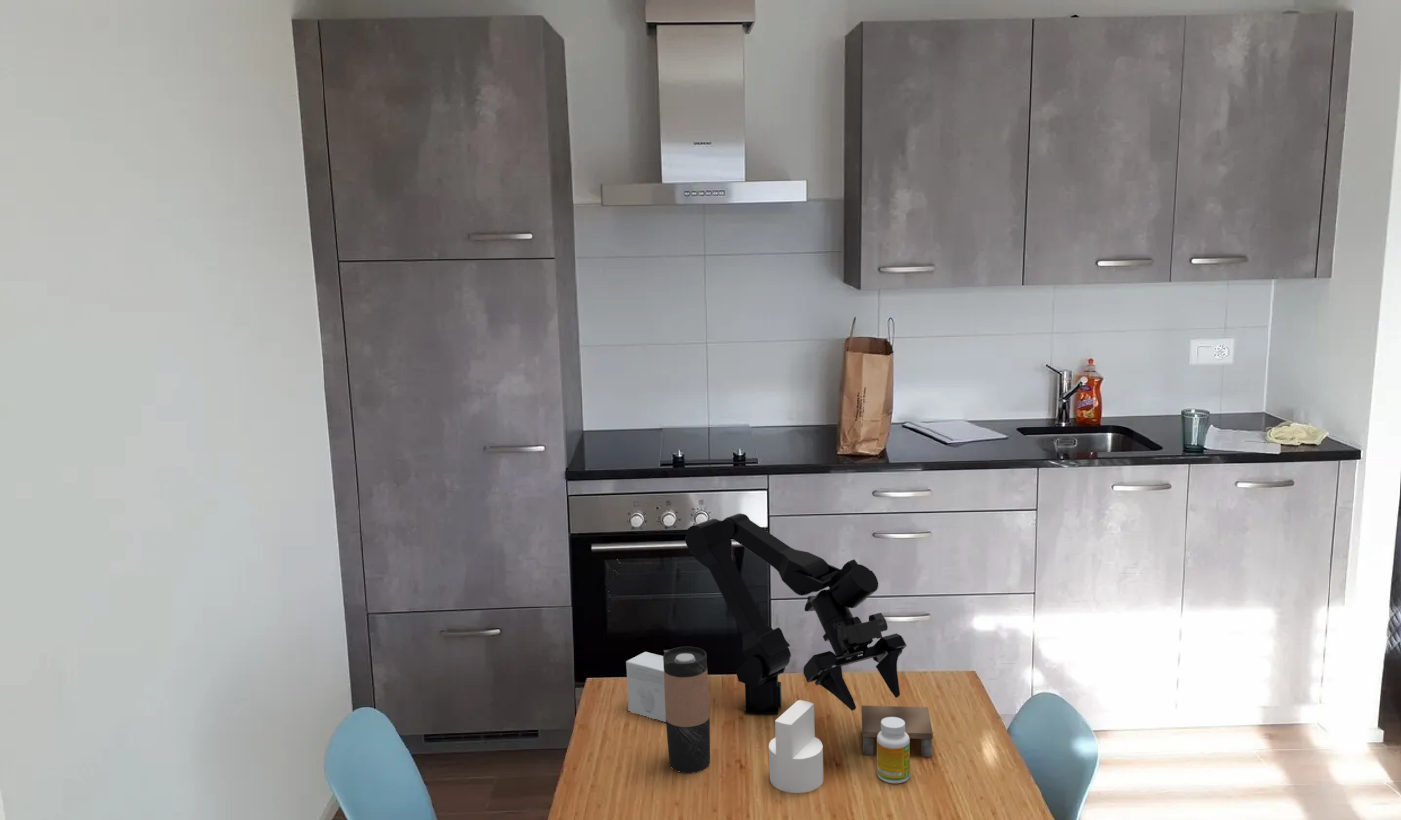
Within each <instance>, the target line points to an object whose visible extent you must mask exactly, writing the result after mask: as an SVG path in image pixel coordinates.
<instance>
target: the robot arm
mask: <svg viewBox="0 0 1401 820" xmlns="http://www.w3.org/2000/svg"><path fill="white" fill-rule="evenodd" d="M732 540H733V541H735V542H737V543H738V544H739V545H741V546H742V547H743V548H745V549H746V550H748V551H750V552H751V553H752V554H754V555H755V556H757V557H758V558H760V559H761V560H763V561H764V562H765V563H766V564H768V565H769V566H771V567H773V569H774V570H776V571H777V572H778V574H779V576H780V578H781V581H782V582H783V583H784V584H785V585H786V587H788V588H789V589H790V590H791V591H792V592H793V593H795V594H797V595H798V596H801V597H803V596H807V595H808V596H807V600H806V603H805V604H804V611H805V612H806V613H807V612H815V614H816V615H817V618H818V620H819V622H820V624H821V627H822V629H823V631H824V632H825V633H824V634H823V636H822V638H823V640H824V642H829V644H830V646H831V648H832V650H833V652H832V651H831V650H827V651H825V652H824V651H823V652H821V653H817V654H813V655H812V656H811V658H810V659H809V660H808V661H807V662H806V664H805V665H804V666H803V676H804V678H805V680H806V682H807V683H813V682H814V684H815V686H821V687H822V688H824V689H826V690H827V691H828V692H830V693H831V694H832V695H833V696H834V697H836V698H837V699H838V700H839V701H840V702H842V704H844V705H845V706H846V707H847V708H849V710H850V711H855V710H856V709H857V706H856V703H855V700H854V697H853V695H852V694H851V692H850V689H849V688H848V686H847V684H846V681H845V679H844V677H843V671H842V670H843V668H842V667H843V666H848V665H852V664H854V663H859V662H862V661H866V660H870V659H873V661H874V662H876V663H877V664H876V665H875V668H876V669H877V672H878V673H879V674H880V676H881V677H882V679H883V681H884V683H885V684H886V686H887V687H888V689H889V691H890V692H891V693H892V695H893V696H894V698H899V697H900V694H901V692H900V684H899V676H898V660H899V657H900V656H901V655H902V654H903V651H904V649H905V648H907V646H908V645H907V643H906V641H905V639H904V637H903V636H902V635H900V634H898V633H892V634H889V635H884V636H883V634H882V632H886V631H888V627H889V626H888V623H887V620H886V618H885V617H884V615H883V613H882V612H878V613H874V614H871V615H868V621H866V622H862V620H861V618H860V617H858V616H853V615H854V614H852V612H851V610H850V609H855V608H857V607H858V606H859V605H861V604H862V603H863V602H864V601H866V600H867V599H868V598H869V597H870V596H871V595H873V594H874V593H875V592H876V591H877V590H878V589H879V581H878V577H877V576H876V574H875V573H874V572H873V570H871V569H869V568H868V567H866V566H865V565H863V564H859V563H858V562H857V561H856V559H855V558H854V559H851V560H849V561H847V562H846V563H845V564H844V565H843V566H842V568H841V569H840V568H838V567H836V566H834V565H831V564H828V562H827V561H826V560H825V559H823V558H821V557H820V556H817V555H816V554H814V553H811V552H809V551H803V550H798V549H795V548H793V547H791V546H789V545H788V544H786V543H784V542H783V540H780V539H779V538H777V536H774V535H773V534H772V533H770V532H768V531H767V530H766V529H764V528H762V526H760V525H758V524H757V523H755V522H753V521H752V520H751V519H750V518H749V516H748V515H747V514H745V513H736V514H733V515H730V516H727V517H726V518H724V519H723V520H720V519H717V518H711V519H708V520H704V521H702V522H700V523H697V524H696V523H695V524H694V525H691V526H689V527H688V528H687V530H686V532H685V538H684V542H685V544H686V545H685V546H686V547H687V548H688V550H689V551H690V553H691V554H692V555H693V557H694V559H695V560H696V561H697V562H698V563H700V564H701V565H703V566H704V567H705V568H707V569H708V570H709V571H710V573H711V576H712V577H713V580H714V582H715V583H716V585H717V588H718V589H719V592H720V593H721V595H722V596H723V599H724V601H725V603H726V605H727V607H728V609H729V611H730V613H731V615H732V618H733V619H734V621H735V623H736V626H737V627H738V629H739V630H740V633H741V635H742V654H743V656H744V660H745V661H744V662H743V664H741V665H740V666H739V667H738V668H736V671H735V674H736V676H737V677H736V678H737V680H738V682H740V683H743V684H744V695H745V696H744V698H745V700H744V702H745V705H744V710H743V711H744V714H746V715H747V714H754V715H755V714H756V715H778V714H779V710H780V709H779V708H781V707H782V700H783V697H782V682H781V681H779V675H781V674H784V672H785V671H786V667H787V666H788V665H789V664H790V659H791V657H792V654H791V651H790V648H789V647H791V645H790V643H789V642H788V641H787V639H786V637H785V635H784V633H783V631H782V629H781V628H780V627H776V628H774V629H773V628H772V627H771V626H769V625H768V624H767V623H766V622H765V620H764V618H763V616H762V614H761V613H760V610H759V609H758V606H757V605H756V602H755V601H754V598H753V596H752V594H751V593H750V591H749V589H748V587H747V585H746V584H745V581H744V580H743V577H742V575H741V573H740V571H739V569H738V567H737V565H736V563H735V562H734V559H733V555H732V554H733V550H732V549H733V543H732ZM827 588H828V589H827ZM817 592H818V593H817ZM812 593H816V595H809V594H812ZM874 639H877V641H876V642H875V643H874V645H871V644H872V643H873V642H874ZM868 645H871V646H868Z"/></svg>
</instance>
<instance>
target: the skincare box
mask: <svg viewBox="0 0 1401 820" xmlns="http://www.w3.org/2000/svg"><path fill="white" fill-rule="evenodd" d="M663 656H664V655H660V654H656V653H651V652H648V651H644V652H642V653H640V654H638V655H636V656H635V657H632V658H630V659H627V660H626V661H625V665H626V666H625V667H626V682H627V702H628V705H627V706H628V707H627V708H628V709H627V710H628V711H631V712H634V713H637V714H640V715H639V716H641V715H643V716H642V717H644V716H647V717H646V718H648V717H649V718H648V719H651V718H652V719H651V720H654V719H658V720H661V721H664V722H666V714H665V688H664V662H663ZM631 712H630V713H631ZM634 713H633V714H634ZM637 714H636V715H637ZM658 720H657V721H658ZM661 721H660V722H661ZM664 722H663V723H664Z"/></svg>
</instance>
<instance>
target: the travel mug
mask: <svg viewBox="0 0 1401 820" xmlns="http://www.w3.org/2000/svg"><path fill="white" fill-rule="evenodd" d="M662 656H663V662H664V688H665V714H666V723H665V726H666V728H665V729H666V737H667V749H668V751H667V752H668V753H667V754H668V760H669V761H668V762H669V767H670V768H671V767H672V768H673V769H672V768H671V769H672V770H674V771H675V770H676V772H678V771H680V772H679V773H682V772H685V773H684V774H693V773H692V772H695V773H698V771H699V772H701V771H700V770H702V771H703V769H704V770H705V769H707V768H708V767H709V766H710V762H711V738H710V737H711V736H710V735H711V732H710V731H711V729H710V728H711V727H710V723H711V722H710V721H711V720H710V719H711V718H710V700H709V699H710V696H709V678H708V662H707V659H708V658H707V652H706V651H705V650H704V649H702V648H700V647H695V646H678V647H674V648H671V649H668V650H667V651H665V652H664V654H663V655H662ZM706 767H707V768H706Z"/></svg>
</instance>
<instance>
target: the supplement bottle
mask: <svg viewBox="0 0 1401 820" xmlns="http://www.w3.org/2000/svg"><path fill="white" fill-rule="evenodd" d="M881 730H882V731H880V732H879V733H878V735H877V737H876V766H877V767H876V771H877V772H876V773H877V776H878V778H879V779H880V780H882V781H884V783H889V784H902V783H905V782H907V781H908V780H909V779H910V775H911V773H910V772H911V770H910V769H911V766H910V765H911V764H910V762H911V761H910V760H911V759H910V758H911V754H910V750H911V749H910V745H911V744H910V743H911V741H910V740H911V738H909V736H908V734H907V733H906V732H905V722H904V720H902V719H900V718H897V717H886V718H884V719H882V720H881Z"/></svg>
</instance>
